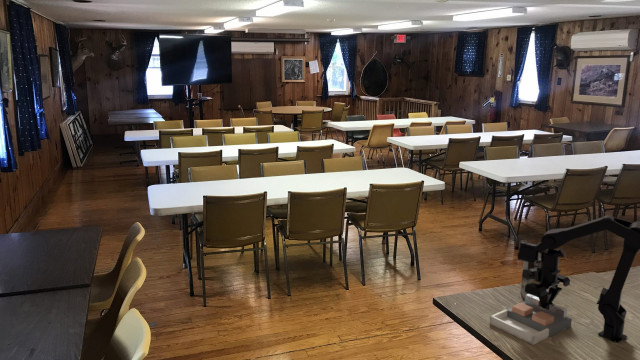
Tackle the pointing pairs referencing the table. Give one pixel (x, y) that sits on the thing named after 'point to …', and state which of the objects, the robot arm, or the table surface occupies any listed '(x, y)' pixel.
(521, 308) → the tile
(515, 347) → the table surface
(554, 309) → the sleeved grey plank
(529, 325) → the board
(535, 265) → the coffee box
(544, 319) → the tile
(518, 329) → the tray
